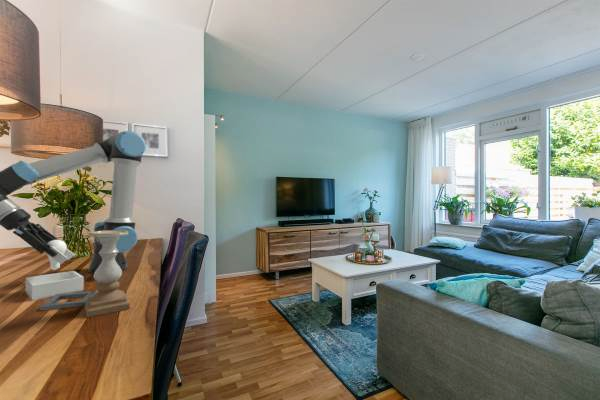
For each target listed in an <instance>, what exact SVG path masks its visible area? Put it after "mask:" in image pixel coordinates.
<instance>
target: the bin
mask: <svg viewBox="0 0 600 400" xmlns="http://www.w3.org/2000/svg"><path fill="white" fill-rule="evenodd" d="M84 283H85V277H84V276H83V275H82V274H80V273H78V272H77V271H75V270H69V271H62V272H56V273H50V274H49V273H48V274H42V275H35V276H34V275H33V276H28V277H25V293H26V294H27V296H28V297H29V299H31V302H32V301H38V300H42V299H46V298H52V297H53V296H54V295H56V294H66V293H77V292H84V288H85V287H84V285H85V284H84Z"/></svg>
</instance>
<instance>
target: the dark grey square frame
mask: <svg viewBox="0 0 600 400" xmlns="http://www.w3.org/2000/svg"><path fill="white" fill-rule="evenodd" d="M97 292H98V291H97V290H89V291H88V290H87V291H79V292H73V293H66V294H56V295H54V296H53V297H49V299H47V301H45V302H44V303H43V304H41V305H39V311H49V310H58V309H59V310H60V309H66V308H67V309H68V308H76V307H78V308H79V307H85V301H86V300H88V297H89V296H91V295H94V294H96V293H97ZM77 298H78V299H79V298H81V299H80V300H72V301H63V302H59V301H60V300H65V299H66V300H67V299H77Z"/></svg>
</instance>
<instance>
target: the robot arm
mask: <svg viewBox="0 0 600 400" xmlns="http://www.w3.org/2000/svg"><path fill="white" fill-rule="evenodd" d="M146 144H147V143H146V141H145V139H144V138H143V136H142V135H140V134H139V133H138V132H136V131H134V130H133V131H132V130H123V131H120V132H119V133H117V134H114V135H112V136H110V137H109V138H107V139H104V140H102V141H99V142H95V143H93V146H90V147H89V146H88V147H85V148H82V149H78V150H75V151H70V152H67V153H63V154H60V155H56V156H52V157H48V158H45V159H41V160H37V161H33V162H30V163H29V162H27V161H25V160H20V161H18V162H16V163H13V164H11V165H10V166H7V167H6V168H4V169H2V170H0V226H1V227H2V228H4V229H6V230H7V231H12V230H14V231H12V234H14V235H16V236H17V237H19V238H20V239H22V240H23V241H24V242H25V243H27V244H28V245H29V246H30V247H32V248H33V249H34V250H36V251H37V252H39V254H44V253H45V254H46V255H49V256H50V257H52V258H53V259H54V260H56V261H57V262H58V263H60V265H62V264H64V263H65V262H66V261H69V260H71V259H73V257H74V256H75V253H74V252H72V251H71V250H70V249H68V248H67V249H66V251H65V253H64V254H62V253H61V252H60V251H58V250H57V249H56V248H54V247H53V246H52V247H50V245H49V244H47V243H48V242H50V241H52V240H60V239H59V238H58V237H56V236H55V235H54V234H52V233H51V232H50V231H48V230H47V229H45V228H44V227H43V226H42V225H40V223H36V224H35V223H34V222H32V221H29V220H30V219H31V217H32V216H31V214H30V213H29V212H27V211H26V210H25V209H23V208H21V206H20V205H18V204H17V203H16V202H15V201H13V200H12V199H10V197H8V196H10V195H11V194H13V193H15V192H16V191H19V190H20V189H22V188H23V187H26V186H28V185H32V184H34V183H38V182H40V181H44V180H47V179H49V178H53V177H57V176H59V175H63V174H67V173H71V172H73V171H77V170H79V169H84V168H86V167H89V166H92V165H95V164H99V163H104V164H106V163H110V162H113V164H114V165H113V175H112V185H111V195H110V207H109V217H108V218H106V219H105V220H104V221H98V222H95V224H94V226H93V227H94V228H93V232H94V231H105V230H125V231H128V234H127V235H124V236H120V237H119V240H118V241H117V242H116V248H117V250H118V251H119V252H118V253H117V255H116V257H115V260H116V262H117V264H118V265H119V266H120V268H121V270H122V271H123V270H127V269H128V262H127V259H126V256H125V252H128V251H130V250H132V249H133V248H134V247H135V245H136V244H137V242H138V233H137V231H136V221H135V219H133V212H134V211H133V209H134V201H135V200H134V199H135V190H136V189H135V188H136V180H137V179H136V178H137V168H138V166H140V165H141V164H142V157H143V154H144V153H145V151H146V149H147V145H146ZM101 249H102V243H101V242H100V241H99V238H98V237H93V255H92V259H91V260H90V263H89V266H88V273H92V274H94V273H95V271H96V270H97V268H98V267H99V265H100V264H101V262H102V257H101V255H100V254H99V251H100V250H101Z"/></svg>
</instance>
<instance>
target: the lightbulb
mask: <svg viewBox="0 0 600 400" xmlns="http://www.w3.org/2000/svg"><path fill="white" fill-rule="evenodd" d="M47 244H49V245H50V247H52V246H53V247H54V248H56V249H57V250H58V251H60V252H61V253H62V254H64V253H65V251H66V249H68V248H67V247H68V246H67V243H66V242H65V241H63V240H61V239H59V240H52V241H50V242H48V243H47ZM46 255H47V254H46ZM47 258H48V260H49V263H50V267H49V268H50V269H51V270H53V271H55V270H58V269H60V266H61V264H60V263H58V262H57V261H56V260H54V259H53V258H52V257H50V256H49V255H47Z"/></svg>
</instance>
